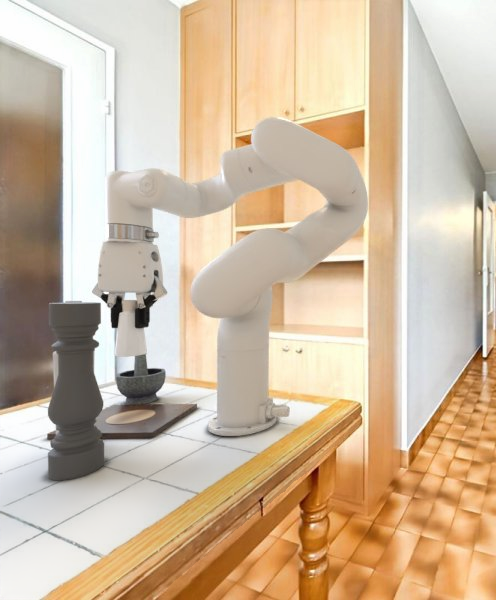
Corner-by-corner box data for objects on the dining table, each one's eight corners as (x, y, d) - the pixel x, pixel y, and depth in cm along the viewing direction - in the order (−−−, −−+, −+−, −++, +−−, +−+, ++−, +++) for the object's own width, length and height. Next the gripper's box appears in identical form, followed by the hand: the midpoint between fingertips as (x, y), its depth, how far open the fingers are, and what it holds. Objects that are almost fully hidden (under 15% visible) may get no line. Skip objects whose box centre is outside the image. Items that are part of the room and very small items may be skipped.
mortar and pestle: (167, 402, 83) (166, 352, 83) (116, 410, 77) (115, 356, 77) (162, 391, 92) (162, 346, 91) (116, 397, 86) (116, 349, 85)
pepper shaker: (109, 357, 67) (108, 300, 67) (118, 352, 72) (118, 299, 72) (143, 356, 69) (143, 300, 69) (150, 351, 74) (150, 299, 74)
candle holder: (55, 485, 48) (53, 304, 47) (42, 472, 51) (39, 302, 51) (111, 466, 53) (109, 303, 53) (95, 455, 56) (94, 302, 56)
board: (197, 408, 79) (197, 403, 79) (152, 437, 63) (152, 431, 63) (114, 408, 78) (114, 403, 78) (47, 439, 62) (46, 433, 62)
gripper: (183, 240, 74) (183, 326, 75) (101, 238, 73) (101, 325, 74) (161, 234, 67) (162, 330, 67) (69, 232, 65) (70, 329, 66)
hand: (130, 326), depth 70 cm, fingers closed on pepper shaker, 3 cm apart
